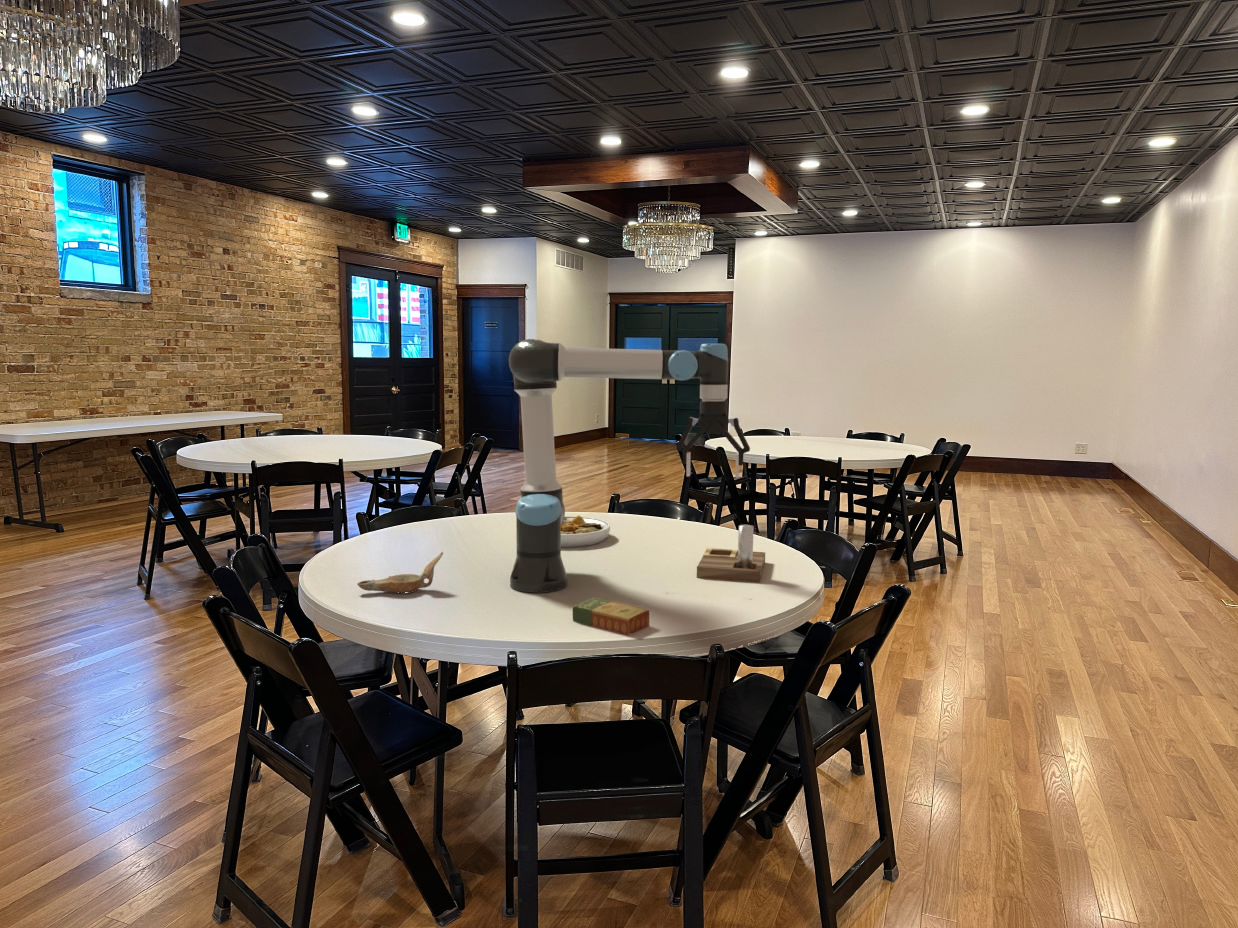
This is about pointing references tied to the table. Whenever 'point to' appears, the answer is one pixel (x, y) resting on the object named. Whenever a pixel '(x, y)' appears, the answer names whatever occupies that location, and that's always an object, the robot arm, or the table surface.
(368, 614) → the table surface
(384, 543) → the table surface
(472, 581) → the table surface
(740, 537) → the steel pin
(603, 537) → the bowl
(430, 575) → the oil lamp
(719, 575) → the socket board
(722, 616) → the table surface
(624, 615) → the carton
